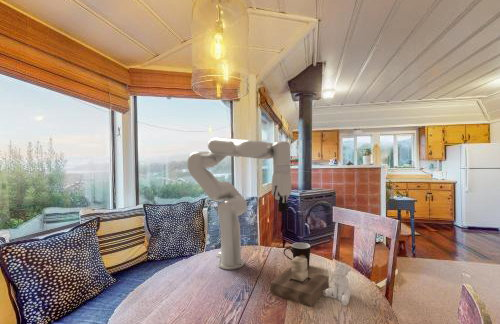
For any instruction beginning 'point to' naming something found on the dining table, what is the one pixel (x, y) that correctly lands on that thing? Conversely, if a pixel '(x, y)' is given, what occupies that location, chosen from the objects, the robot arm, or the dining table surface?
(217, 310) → the dining table surface
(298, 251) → the coffee mug
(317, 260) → the dining table surface
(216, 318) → the dining table surface
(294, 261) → the birch peg
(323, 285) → the walnut board
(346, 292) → the sitting furry creature
